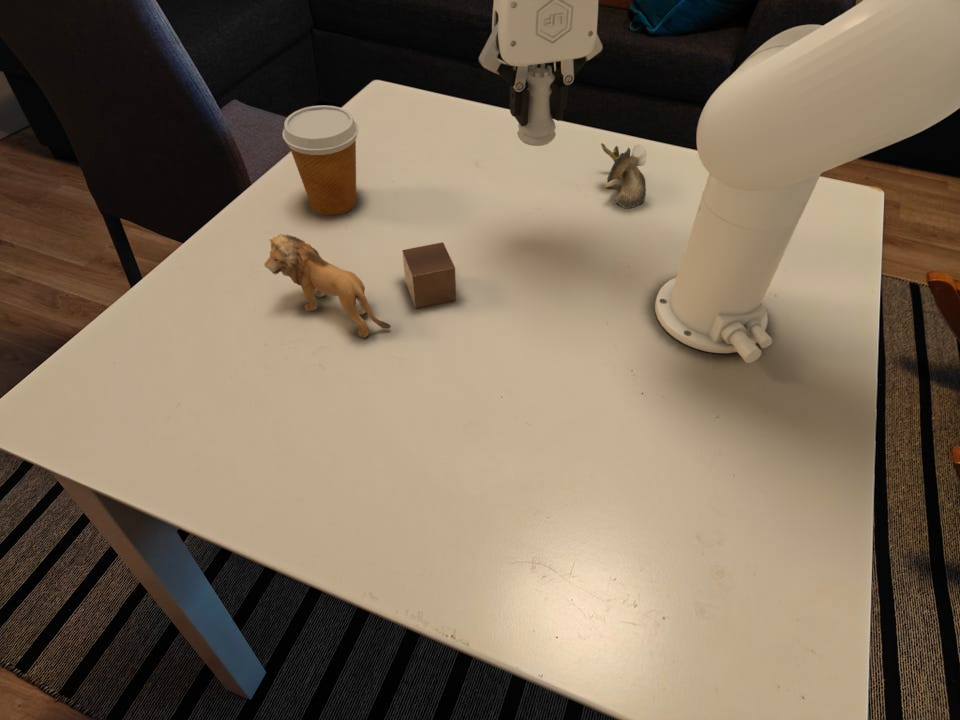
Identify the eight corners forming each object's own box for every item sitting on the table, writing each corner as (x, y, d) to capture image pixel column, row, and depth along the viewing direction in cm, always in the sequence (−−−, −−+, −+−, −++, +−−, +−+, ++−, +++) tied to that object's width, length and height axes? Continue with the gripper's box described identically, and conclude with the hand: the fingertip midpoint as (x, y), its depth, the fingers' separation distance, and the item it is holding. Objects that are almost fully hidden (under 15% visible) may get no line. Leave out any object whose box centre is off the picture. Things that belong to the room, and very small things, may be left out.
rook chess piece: (512, 131, 76) (514, 62, 70) (547, 126, 77) (552, 57, 71) (524, 150, 73) (527, 79, 67) (561, 144, 74) (567, 74, 68)
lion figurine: (270, 307, 76) (251, 246, 69) (297, 280, 79) (281, 219, 73) (379, 345, 72) (370, 284, 65) (402, 315, 75) (396, 254, 69)
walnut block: (456, 300, 77) (455, 267, 73) (415, 308, 76) (412, 276, 72) (444, 274, 80) (443, 241, 77) (405, 282, 79) (402, 249, 76)
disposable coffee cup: (378, 189, 93) (368, 109, 84) (351, 227, 87) (338, 145, 78) (317, 178, 94) (301, 99, 85) (286, 215, 88) (266, 134, 79)
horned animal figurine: (583, 166, 95) (593, 190, 88) (615, 124, 92) (628, 146, 85) (622, 192, 98) (635, 218, 91) (654, 153, 94) (670, 177, 87)
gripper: (474, -51, 56) (477, 145, 69) (648, -69, 59) (618, 122, 72) (452, -74, 61) (458, 113, 74) (613, -89, 64) (591, 93, 77)
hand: (537, 116), depth 73 cm, fingers closed on rook chess piece, 3 cm apart
